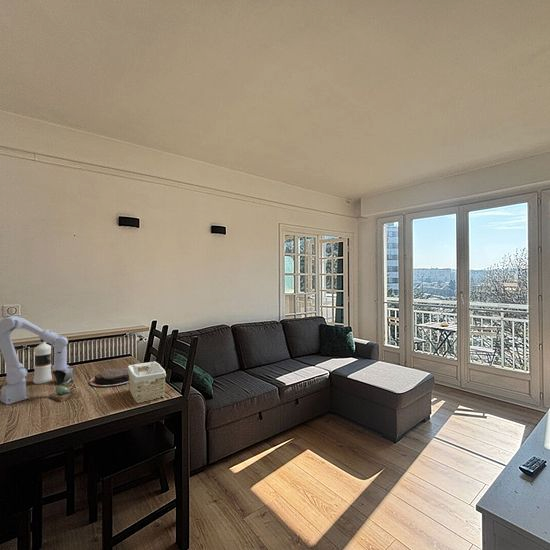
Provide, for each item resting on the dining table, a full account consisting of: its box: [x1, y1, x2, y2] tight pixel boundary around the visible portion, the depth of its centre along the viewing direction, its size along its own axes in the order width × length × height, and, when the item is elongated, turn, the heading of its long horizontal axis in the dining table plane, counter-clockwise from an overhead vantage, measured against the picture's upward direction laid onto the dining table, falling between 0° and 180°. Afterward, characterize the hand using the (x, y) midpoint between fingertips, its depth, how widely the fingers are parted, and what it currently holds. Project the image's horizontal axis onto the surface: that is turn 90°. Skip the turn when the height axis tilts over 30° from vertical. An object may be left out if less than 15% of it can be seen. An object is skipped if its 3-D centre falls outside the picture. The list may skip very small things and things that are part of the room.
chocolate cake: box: [89, 367, 129, 388], centre depth 192 cm, size 28×28×7 cm
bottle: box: [54, 385, 71, 396], centre depth 166 cm, size 4×4×9 cm
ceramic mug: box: [60, 367, 75, 386], centre depth 187 cm, size 11×8×8 cm
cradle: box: [49, 388, 82, 403], centre depth 165 cm, size 10×12×2 cm
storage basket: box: [127, 361, 167, 404], centre depth 169 cm, size 24×16×15 cm
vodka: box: [32, 339, 53, 385], centre depth 187 cm, size 9×9×30 cm
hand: (60, 383), depth 168 cm, fingers closed
